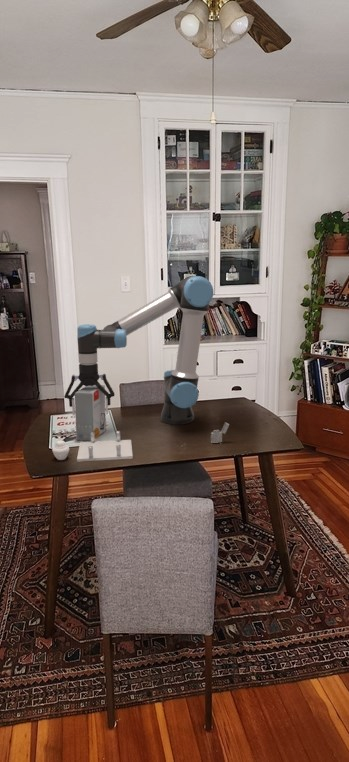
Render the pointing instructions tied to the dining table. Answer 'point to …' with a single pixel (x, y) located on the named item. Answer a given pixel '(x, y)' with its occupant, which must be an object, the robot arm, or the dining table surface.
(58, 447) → the white lidded jar
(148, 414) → the dining table surface
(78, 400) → the hard drive box
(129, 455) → the pin tray
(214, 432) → the lighter
